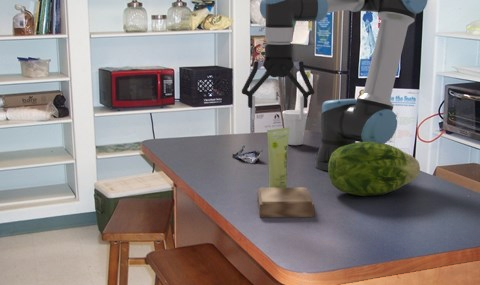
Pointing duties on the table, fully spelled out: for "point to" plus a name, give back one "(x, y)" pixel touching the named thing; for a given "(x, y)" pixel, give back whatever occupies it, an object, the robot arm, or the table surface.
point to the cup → (295, 126)
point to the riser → (285, 202)
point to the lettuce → (371, 168)
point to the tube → (278, 157)
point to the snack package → (247, 155)
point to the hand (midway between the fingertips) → (277, 119)
